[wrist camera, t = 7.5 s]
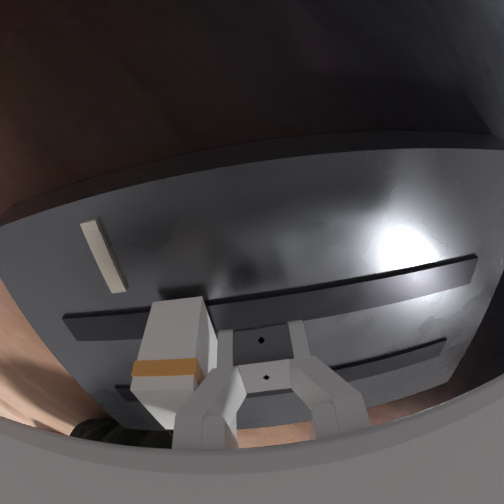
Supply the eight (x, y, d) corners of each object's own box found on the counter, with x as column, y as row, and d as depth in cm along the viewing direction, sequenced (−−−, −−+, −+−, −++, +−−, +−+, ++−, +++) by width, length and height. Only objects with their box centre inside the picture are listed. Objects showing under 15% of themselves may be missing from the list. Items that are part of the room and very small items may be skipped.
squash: (246, 491, 25) (183, 581, 10) (151, 490, 28) (81, 544, 14) (193, 386, 27) (83, 451, 13) (105, 403, 31) (13, 439, 17)
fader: (203, 295, 11) (193, 388, 8) (221, 347, 13) (219, 429, 9) (151, 301, 11) (127, 388, 8) (175, 350, 13) (165, 429, 9)
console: (493, 134, 11) (534, 154, 8) (433, 354, 20) (448, 383, 18) (10, 206, 12) (-24, 237, 9) (130, 398, 21) (124, 430, 19)
